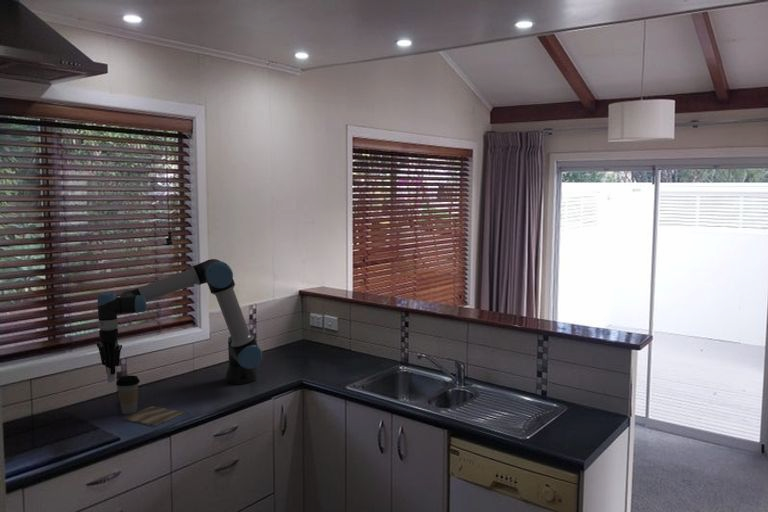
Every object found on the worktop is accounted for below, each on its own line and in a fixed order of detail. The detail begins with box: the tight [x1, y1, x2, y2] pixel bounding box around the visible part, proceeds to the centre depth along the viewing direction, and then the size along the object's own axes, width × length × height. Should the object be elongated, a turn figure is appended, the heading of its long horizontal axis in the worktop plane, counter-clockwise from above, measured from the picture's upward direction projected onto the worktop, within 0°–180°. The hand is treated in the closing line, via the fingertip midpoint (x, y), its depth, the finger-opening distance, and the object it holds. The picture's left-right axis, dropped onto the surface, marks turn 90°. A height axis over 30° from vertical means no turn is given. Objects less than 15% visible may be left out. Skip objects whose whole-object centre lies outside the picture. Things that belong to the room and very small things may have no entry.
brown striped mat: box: [122, 405, 185, 427], centre depth 266 cm, size 18×16×1 cm
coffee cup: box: [116, 375, 140, 415], centre depth 271 cm, size 9×9×15 cm
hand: (111, 381), depth 274 cm, fingers closed
